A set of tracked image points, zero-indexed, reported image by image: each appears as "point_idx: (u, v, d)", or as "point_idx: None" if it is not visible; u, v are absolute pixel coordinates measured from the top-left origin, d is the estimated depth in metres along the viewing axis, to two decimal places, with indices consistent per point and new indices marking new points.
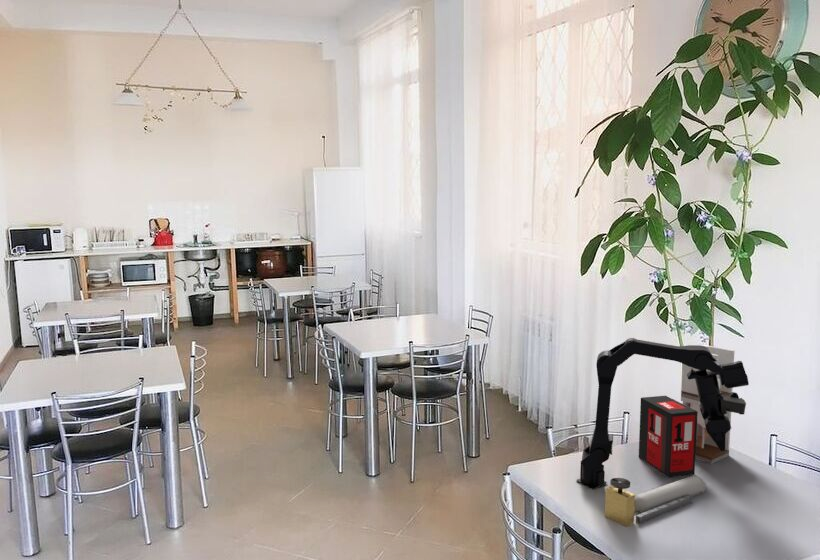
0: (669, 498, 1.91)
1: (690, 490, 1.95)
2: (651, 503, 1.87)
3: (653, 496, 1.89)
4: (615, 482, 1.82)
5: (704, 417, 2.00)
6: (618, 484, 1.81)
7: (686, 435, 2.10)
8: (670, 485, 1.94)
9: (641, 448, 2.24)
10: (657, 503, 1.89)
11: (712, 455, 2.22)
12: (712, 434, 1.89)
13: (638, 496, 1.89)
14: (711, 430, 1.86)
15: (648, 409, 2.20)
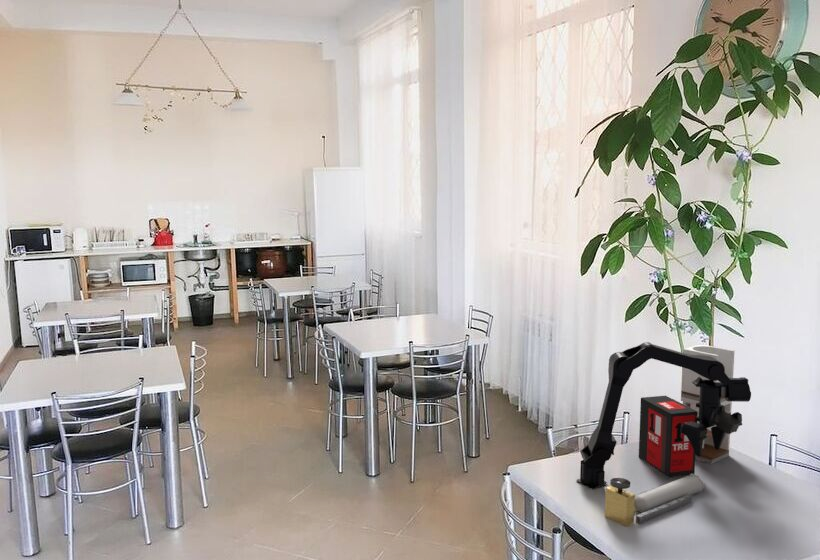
0: (669, 498, 1.91)
1: (689, 489, 1.96)
2: (652, 503, 1.87)
3: (653, 496, 1.89)
4: (615, 482, 1.82)
5: None
6: (618, 484, 1.81)
7: None
8: (669, 485, 1.95)
9: (641, 448, 2.24)
10: (657, 503, 1.89)
11: (712, 455, 2.22)
12: (689, 437, 2.00)
13: (639, 496, 1.89)
14: (683, 432, 1.98)
15: (648, 409, 2.20)
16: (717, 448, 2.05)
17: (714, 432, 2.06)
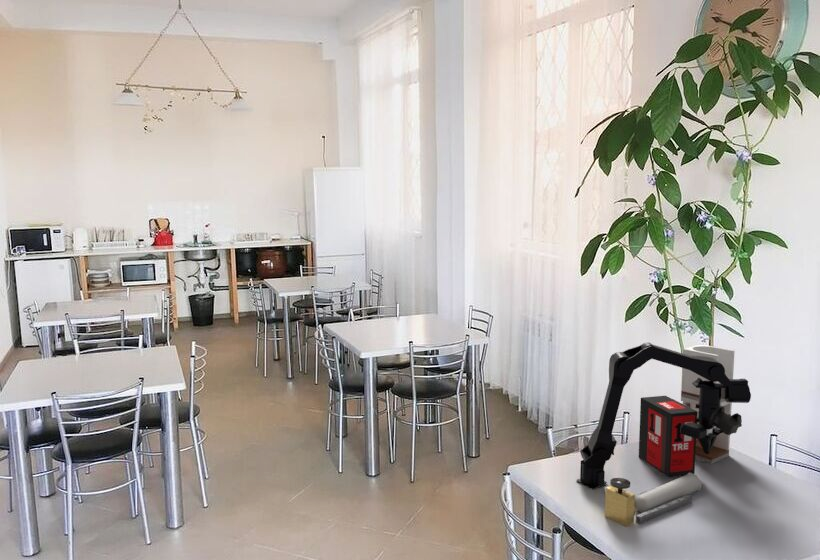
0: (669, 497, 1.91)
1: (688, 489, 1.96)
2: (652, 503, 1.87)
3: (654, 496, 1.89)
4: (615, 482, 1.82)
5: None
6: (618, 484, 1.81)
7: (686, 435, 2.10)
8: (668, 484, 1.95)
9: (641, 448, 2.24)
10: (658, 503, 1.89)
11: (712, 455, 2.22)
12: None
13: (639, 497, 1.88)
14: (682, 432, 1.98)
15: (648, 409, 2.20)
16: None
17: None
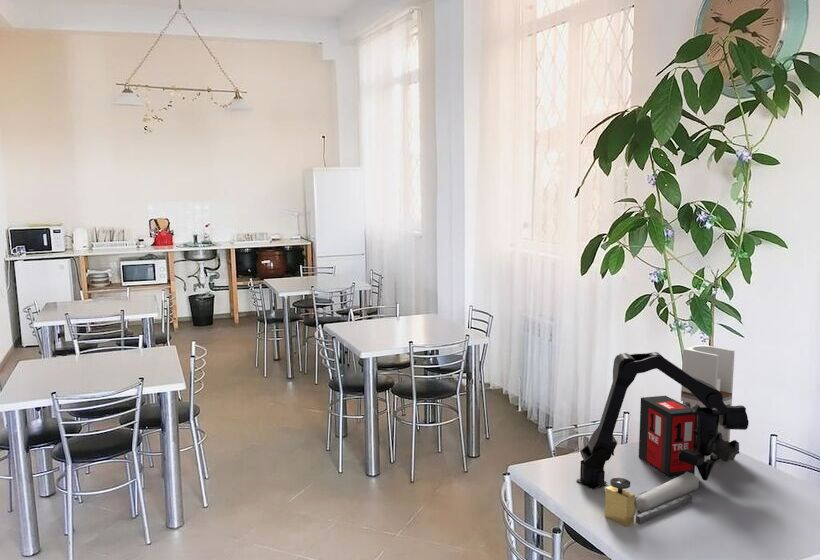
0: (668, 497, 1.92)
1: (686, 488, 1.97)
2: (653, 503, 1.87)
3: (654, 496, 1.89)
4: (615, 482, 1.82)
5: None
6: (618, 484, 1.81)
7: (686, 435, 2.10)
8: (667, 484, 1.95)
9: (641, 448, 2.24)
10: (658, 503, 1.89)
11: None
12: None
13: (640, 497, 1.88)
14: (680, 459, 1.99)
15: (648, 409, 2.20)
16: None
17: None
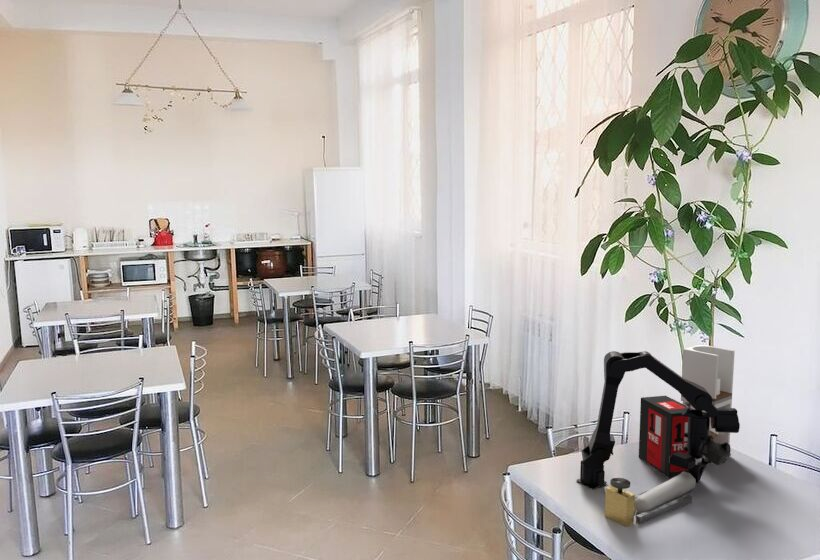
0: (667, 497, 1.91)
1: (683, 488, 1.96)
2: (652, 504, 1.86)
3: (653, 497, 1.88)
4: (615, 482, 1.82)
5: None
6: (618, 484, 1.81)
7: None
8: (665, 484, 1.95)
9: (641, 448, 2.24)
10: (657, 503, 1.88)
11: None
12: None
13: (639, 498, 1.87)
14: (671, 462, 1.97)
15: (648, 409, 2.20)
16: (697, 482, 2.02)
17: None
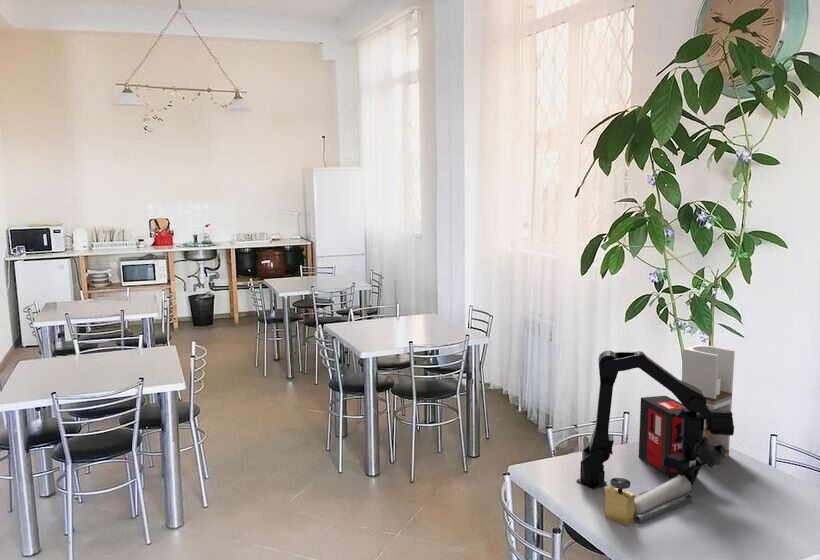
0: (661, 501, 1.89)
1: (678, 491, 1.95)
2: (646, 508, 1.85)
3: (647, 500, 1.86)
4: (615, 482, 1.82)
5: None
6: (618, 484, 1.81)
7: None
8: (660, 488, 1.93)
9: (641, 448, 2.24)
10: (651, 507, 1.86)
11: None
12: None
13: None
14: (665, 464, 1.95)
15: (648, 409, 2.20)
16: (691, 484, 2.00)
17: None
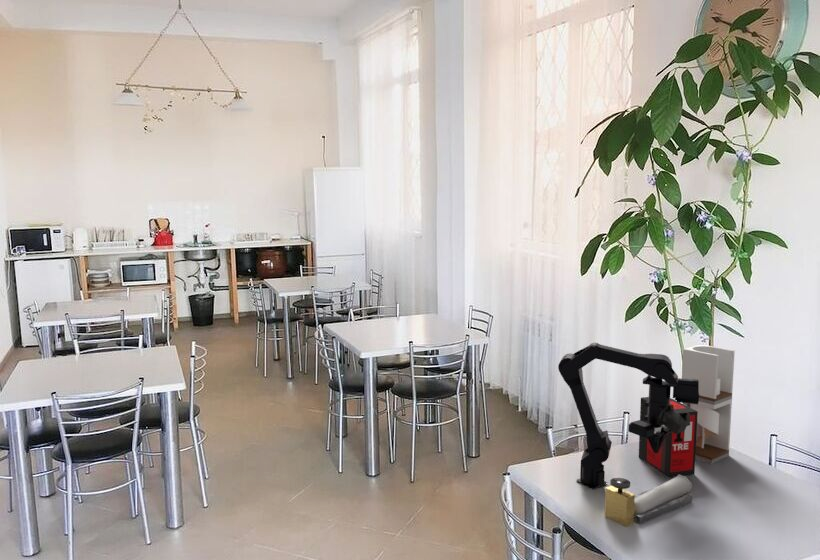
0: (661, 501, 1.89)
1: (679, 491, 1.95)
2: (647, 508, 1.85)
3: (647, 500, 1.86)
4: (615, 482, 1.82)
5: None
6: (618, 484, 1.81)
7: (686, 435, 2.10)
8: (660, 487, 1.93)
9: (641, 448, 2.24)
10: (652, 507, 1.86)
11: (712, 455, 2.22)
12: None
13: None
14: (630, 431, 1.95)
15: None
16: None
17: None
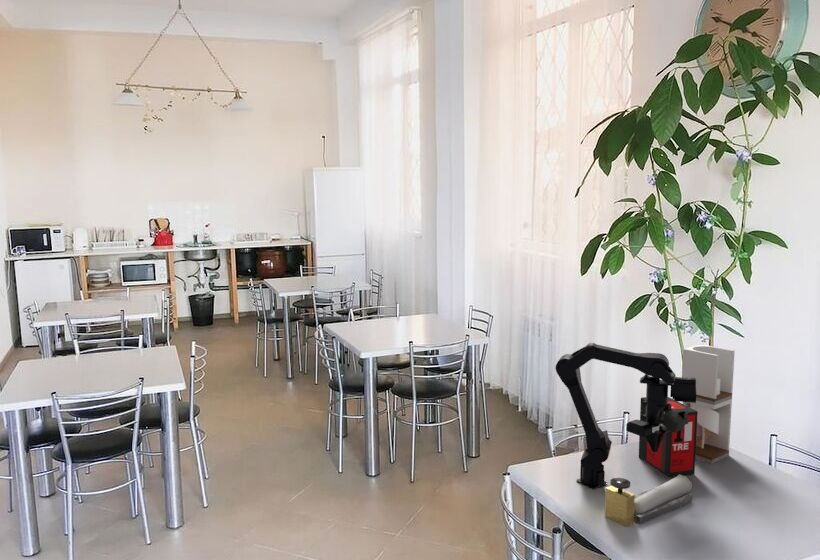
0: (662, 501, 1.89)
1: (679, 491, 1.95)
2: (647, 508, 1.85)
3: (648, 500, 1.87)
4: (615, 482, 1.82)
5: None
6: (618, 484, 1.81)
7: (686, 435, 2.10)
8: (660, 487, 1.93)
9: (641, 448, 2.24)
10: (652, 507, 1.86)
11: (712, 455, 2.22)
12: None
13: (634, 501, 1.86)
14: (628, 430, 1.95)
15: None
16: None
17: None
